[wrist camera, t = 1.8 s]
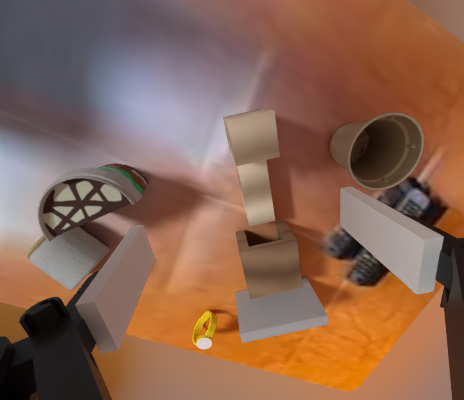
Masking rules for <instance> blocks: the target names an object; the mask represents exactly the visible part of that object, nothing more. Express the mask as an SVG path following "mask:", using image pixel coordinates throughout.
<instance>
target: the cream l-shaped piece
mask: <svg viewBox="0 0 464 400" xmlns="http://www.w3.org/2000/svg"><path fill="white" fill-rule="evenodd" d="M223 119H224V124H225V129H226V134H227V139H228V144H229V149H230V153H231V155H232V157H233V160H234V162H235V165H236V167H237V172H238V177H239V182H240V187H241V192H242V197H243V202H244V207H245V212H246V216H247V220H248V223H249V226H254V225H258V224H263V223H268V222H272V221H275V215H274V208H273V202H272V195H271V188H270V182H269V175H268V168H267V162H266V160H267V159H272V158H277V157H280V151H279V143H278V136H277V128H276V120H275V112H274V109H270V110H254V111H249V112H244V113H240V114H235V115H231V116H226V117H223Z"/></svg>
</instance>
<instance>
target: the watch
mask: <svg viewBox="0 0 464 400" xmlns="http://www.w3.org/2000/svg"><path fill="white" fill-rule="evenodd" d="M209 318H210V324H209V327H208V330H207V332H206V334H205V335H201V336H199V335H200V332H201V329H202V326H203V324H204V323H205V322H206V321H207V320H208V319H209ZM216 326H217V317H216V315H215V314H214V313H212V312H210V311H206V312H205V313H204V315H203V316H202V317H201V318H200V319H199V320H198V321H197V323H196V325H195V328H194V331H193V339H192V340H193V343H194V345H196V346H197V347H198V348H200V349H208V348H210V347H211V345H212V336H213V335H214V332H215V329H216Z"/></svg>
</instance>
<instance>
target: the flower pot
mask: <svg viewBox="0 0 464 400" xmlns="http://www.w3.org/2000/svg"><path fill="white" fill-rule="evenodd" d="M362 147H364V148H363V150H362V152H361V154H360V155H359V151H360V150H361V148H362ZM423 149H424V134H423V131H422V128H421V126H420V124H419V123H418V122H417V121H416V120H415V119H414V118H413V117H412V116H409V115H407V114H404V113H400V112H389V113H384V114H380V115H378V116H376V117H374V118H372V119H370V120H369V121H364V122H357V123H349V124H346V125H344V126H342V127H340V128H339V129H338V130H337V131H336V132H335V133H334V135H333V136H332V138H331V141H330V152H331V156H332V158H333V159H334V160H335V161H336V162H338V163H339V164H340V165H342V166H343V167H344V168H345V169H346V170H348V172H349V174H350V176H351V178H352V179H353V180H354V181H355V183H357V184H358V185H359V186H361V187H363V188H365V189H368V190H385V189H389V188H391V187H394V186H396V185H398V184H399V183H401V182H402V181H404V180H405V179H406V178H407V177H408V176H409V175H410V174H411V173H412V172H413V170H414V169H415V168H416V166H417V164H418V162H419V161H420V159H421V156H422V153H423Z"/></svg>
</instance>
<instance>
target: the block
mask: <svg viewBox="0 0 464 400" xmlns="http://www.w3.org/2000/svg"><path fill="white" fill-rule="evenodd" d="M277 230H278V237H279V240H277V241H273V242H268V243H264V244H259V245H254V246H250V247H249V246H248V242H247V238H246V234H245V230H243V231H238V232H236V236H237V241H238V246H239V252H240V256H241V261H242V265H243V270H244V274H245V279H246V283H247V287H248V292H249V296H250V299H253V298H258V297H262V296H267V295H272V294H276V293H281V292H286V291H290V290H295V289H300V288H303V286H302V277H301V269H300V260H299V251H298V242H297V239H296V237H295V236H294V234H293V233H292V231H291V230H290V228H289V227H288V225H287V224H286V222H280V223H277Z"/></svg>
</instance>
